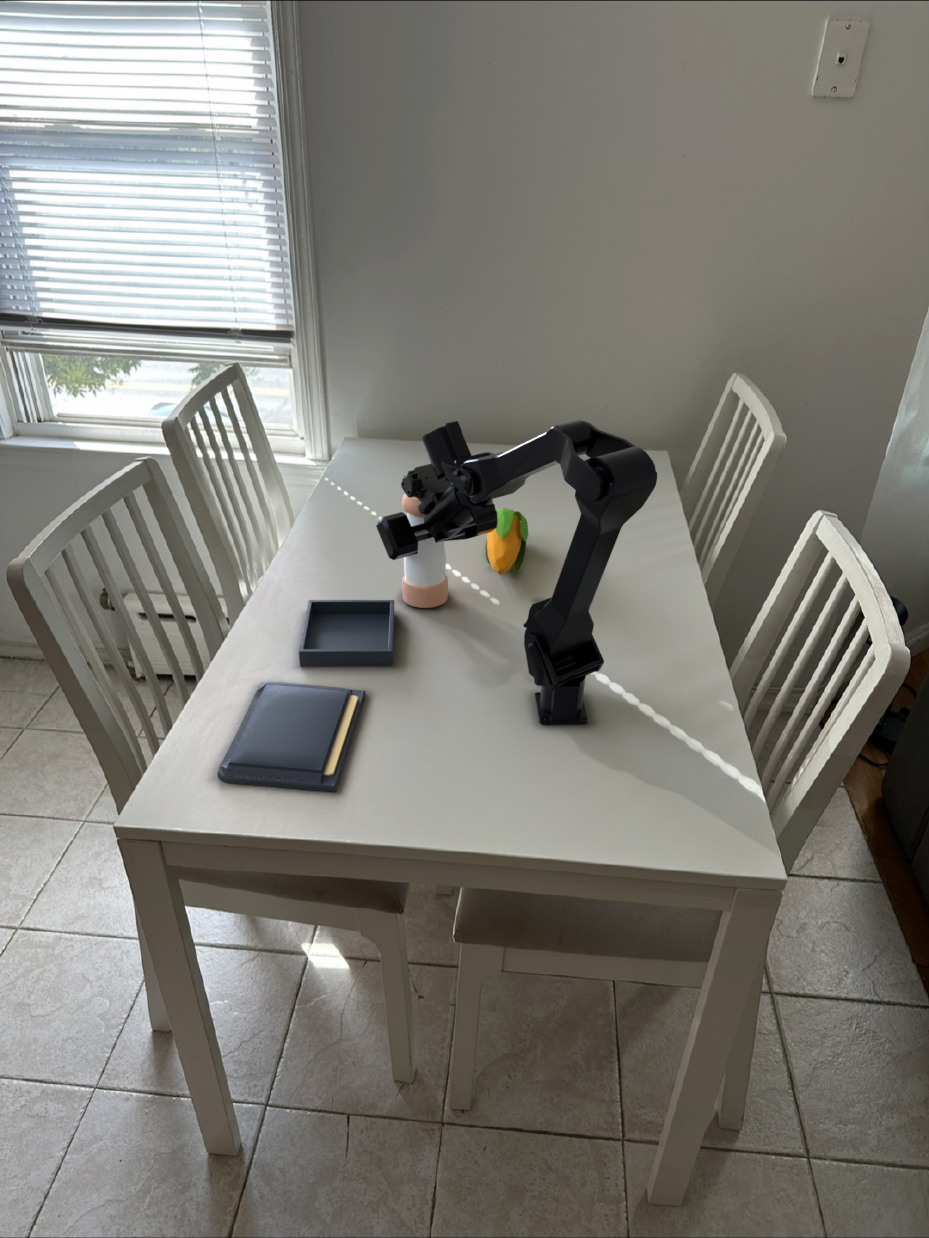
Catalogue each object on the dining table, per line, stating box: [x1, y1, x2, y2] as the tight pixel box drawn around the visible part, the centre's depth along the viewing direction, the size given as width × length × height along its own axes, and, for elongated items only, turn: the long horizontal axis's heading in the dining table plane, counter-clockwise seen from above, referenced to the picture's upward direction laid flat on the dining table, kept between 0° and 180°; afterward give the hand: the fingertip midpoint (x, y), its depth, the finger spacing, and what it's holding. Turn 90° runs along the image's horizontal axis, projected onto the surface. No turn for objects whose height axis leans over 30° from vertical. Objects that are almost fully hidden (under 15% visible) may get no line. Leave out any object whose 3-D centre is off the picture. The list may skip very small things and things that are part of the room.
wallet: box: [216, 681, 367, 793], centre depth 118 cm, size 20×2×15 cm
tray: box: [298, 599, 395, 667], centre depth 138 cm, size 14×13×3 cm
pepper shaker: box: [401, 492, 449, 609], centre depth 144 cm, size 7×7×19 cm
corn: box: [485, 507, 529, 576], centre depth 158 cm, size 7×8×20 cm
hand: (418, 544), depth 145 cm, fingers open, 7 cm apart
